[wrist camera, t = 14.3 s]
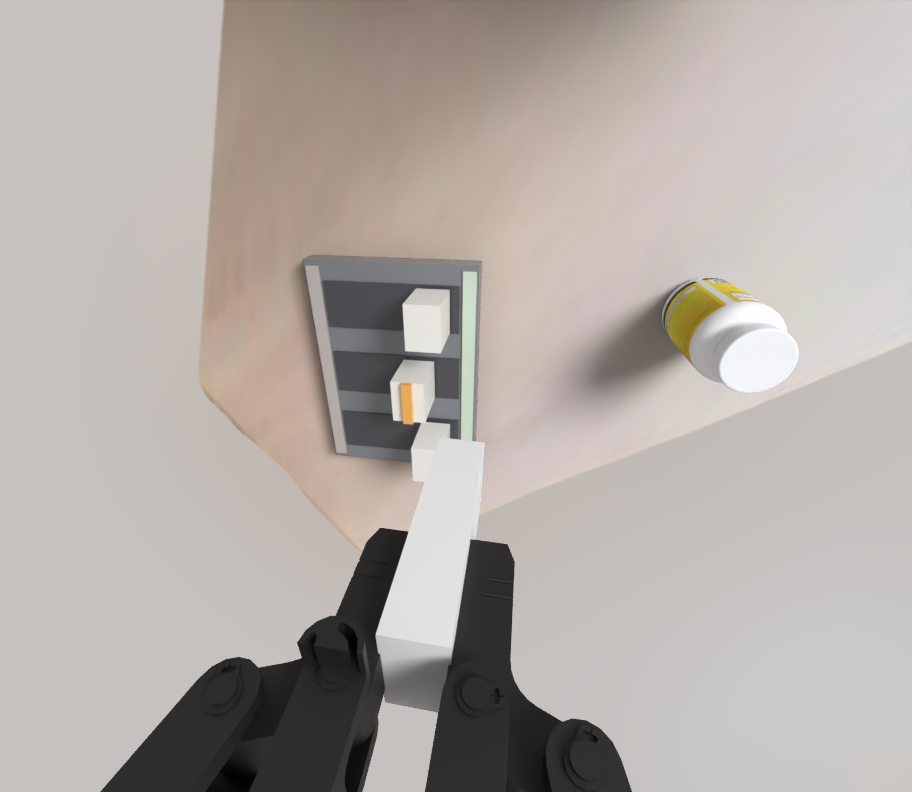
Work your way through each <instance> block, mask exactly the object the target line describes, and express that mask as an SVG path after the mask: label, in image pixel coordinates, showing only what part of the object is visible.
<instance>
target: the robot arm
mask: <svg viewBox="0 0 912 792" xmlns="http://www.w3.org/2000/svg"><path fill="white" fill-rule="evenodd" d="M484 443H485V442H477V441H468V440H458V439H449V438H440V437H439V439H438V443H437V446H436V449H435V452H434V455H433V458H432V461H431V464H430V467H429V470H428V474H427V477H426V480H425V483H424V486H423V489H422V492H421V495H420V498H419V501H418V505H417V508H416V511H415V514H414V517H413V520H412V523H411V526H410V529H409V532H407V531H400V530H392V529H385V528H380V529H379V530H378V531H377V532H376V533H375V534H374V535H373V536H372V537H371V538H370V539H369V540H368V541H367V543H366V545H365V547H364V550H363V552H362V555H361V557H360V561H359V562H358V564H357V567H356V569H355V571H354V575H353V577H352V579H351V581H350V583H349V585H348V588H347V590H346V593H345V595H344V597H343V600H342V602H341V605H340V607H339V609H338V612H337V614H336V616H329V617H327V618H324V619H322V620H319V621H317V622H316V623H314V625H312V626H311V627H309V628H308V629H307V630H306V631H305V632H304V634H303V635H302V637H301V638H300V640H299V641H298V642H297V644H298V647H299V649H300V653H301V656H302V658H301V659H298V660H295V661H292V662H288V663H283V664H277V665H271V666H266V667H260V668H258V667H257V666H256V665H255V664H254V663H253V662H252V661H251V660H249V659H245V658H241V657H236V658H231V659H226V660H224V661H222V662H220V663H218V664H216V665H214V666H212V667H211V668H210V669H209V670H208V671H206V672H205V673H204V674H203V675H202V676H201V677H200V678H199V679H198V680H197V681H196V682H195V683H194V685H193V686H192V687H191V688H190V689H189V691H187V693H186V694H185V695H184V696H183V697H182V698H181V700H180V701H179V702H178V703H177V704H176V705H175V706H174V708H173V709H172V710H171V711H170V712H169V714H168V715H167V716H166V717H165V718H164V719H163V720H162V722H161V723H160V724H159V725H158V726H157V727H156V728H155V730H154V731H153V732H152V733H151V734H150V735H149V736H148V738H147V739H146V740H145V741H144V742H143V743H142V745H141V746H140V747H139V748H138V749H137V750H136V751H135V753H134V754H133V755H132V756H131V757H130V758H129V760H128V761H127V762H126V763H125V764H124V765H123V766H122V768H121V769H120V770H119V771H118V772H117V773H116V774H115V776H114V777H113V778H112V779H111V780H110V781H109V783H108V784H107V785H106V786H105V787H104V788H103V789H102V791H101V792H362V791H363V787H364V784H365V780H366V776H367V772H368V768H369V764H370V761H371V757H372V753H373V749H374V745H375V742H376V738H377V732H378V713H379V709H380V705H381V702H382V698H383V695H384V697H385V702H387V703H392V704H397V705H402V706H408V707H413V708H418V709H424V710H428V711H434V712H438V719H437V724H436V730H435V736H434V742H433V748H432V754H431V760H430V766H429V771H428V777H427V783H426V789H425V792H632V791H631V788H630V785H629V782H628V779H627V776H626V773H625V770H624V767H623V764H622V761H621V758H620V756H619V754H618V752H617V750H616V748H615V746H614V744H613V742H612V741H611V740H610V739H609V738H608V737H607V735H606V734H605V733H604V732H603V731H602V730H601V729H600V728H598V727H597V726H595V725H593V724H591V723H590V722H588V721H586V720H578V719H570V720H567V721H564V722H562V721H560V720H558V719H557V718H555V717H553V716H552V715H550V714H548V713H547V712H545V711H543V710H542V709H540V708H538V707H536V706H535V705H534V704H533V703H531V702H530V701H529V700H527V699H526V697H525V696H524V695H523V694H522V693H521V692H520V690H519V688H518V686H517V685H516V683H515V681H514V678H513V675H512V672H511V662H510V654H511V632H512V631H511V630H512V607H513V583H514V559H513V557H512V555H511V552H510V549H509V547H508V545H507V544H501V543H494V542H487V541H480V540H475V538H476V531H477V525H478V517H479V511H480V504H481V489H482V474H483V458H484Z"/></svg>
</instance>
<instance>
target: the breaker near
mask: <svg viewBox="0 0 912 792" xmlns="http://www.w3.org/2000/svg"><path fill="white" fill-rule="evenodd" d="M402 305H403V322H404V338H405V351H410V352H425V353H441V352H442V350H443V347H444V345H445V343H446V341H447V338H448V336H449V334H450V290H443V289H421V288H416V289H415V290H414V291H413V292H412V294H411V295H410V296H409V297H408V298H407V299H406V301H405V302H404V303H403V304H402Z"/></svg>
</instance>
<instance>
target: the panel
mask: <svg viewBox="0 0 912 792" xmlns="http://www.w3.org/2000/svg"><path fill="white" fill-rule="evenodd" d="M303 263H304V269H305V275H306V281H307V287H308V293H309V298H310V304H311V310H312V316H313V322H314V328H315V334H316V339H317V345H318V351H319V357H320V363H321V369H322V375H323V380H324V386H325V392H326V398H327V404H328V410H329V416H330V421H331V427H332V433H333V439H334V445H335V451H336V455H344V456H354V457H365V458H375V459H385V460H396V461H406V462H412V455H411V447H412V445H413V442H414V440H415V437H416V435H417V432H418V430H419V427H420V425H421V423H417V422H414V423H413V425H412V424H403V421H394V420H393V412H392V400H391V388H390V381H391V379H392V378H393V376H394V375H395V373H396V371H397V370H398V368H399V366H400V365H401V363H402V361H403V360H417V361H432V362H434V379H435V399H434V402H433V404H432V407H431V409H430V412H429V415H428V417H427V420H426V422H432V423H444V424H450V439H458V440H468V441H476V418H477V388H478V358H479V329H480V299H481V270H482V261H469V260H441V259H412V258H384V257H356V256H328V255H311V256H309V257H307V258H305V259H303ZM416 288H421V289H443V290H450V334H449V336H448V338H447V341H446V343H445V345H444V347H443V350H442V352H441V353H425V352H410V351H405V338H404V322H403V305H402V304H403V303H404V302H405V301H406V299H407V298H408V297H409V296H410V295H411V294H412V292H413V291H414V290H415V289H416Z"/></svg>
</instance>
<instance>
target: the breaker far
mask: <svg viewBox="0 0 912 792" xmlns="http://www.w3.org/2000/svg"><path fill="white" fill-rule="evenodd" d="M439 437H440V438H449V439H450V424H444V423H432V422H425V423H421V425H420V427H419V430H418V432H417V435H416V437H415V440H414V442H413V445H412V447H411V455H412V472H413V481H420V482H425V480H426V477H427V474H428V470H429V467H430V464H431V461H432V458H433V455H434V452H435V449H436V446H437V443H438V439H439Z"/></svg>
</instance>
